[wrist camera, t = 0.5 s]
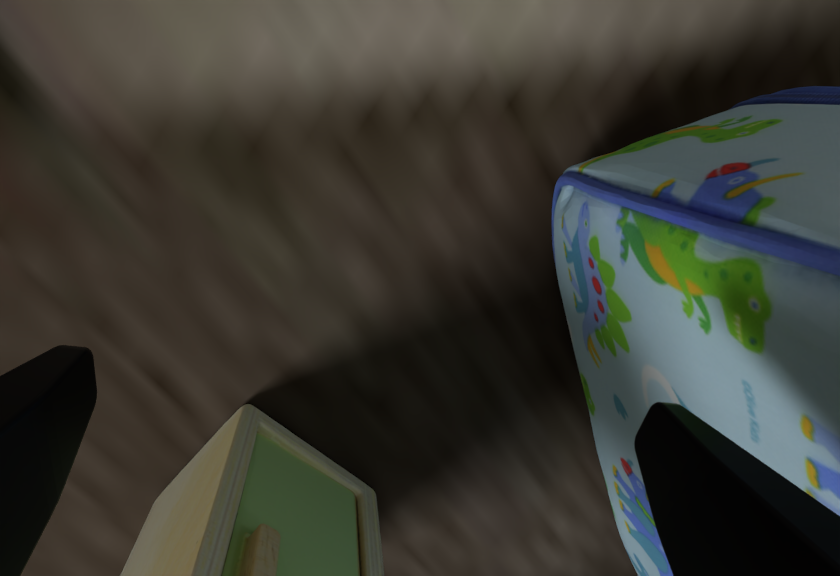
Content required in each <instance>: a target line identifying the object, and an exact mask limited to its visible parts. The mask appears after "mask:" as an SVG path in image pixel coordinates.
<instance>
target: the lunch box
mask: <svg viewBox="0 0 840 576" xmlns="http://www.w3.org/2000/svg"><path fill="white" fill-rule="evenodd" d="M552 246H553V254H554V261H555V266H556V272H557V278H558V283H559V288H560V292H561V297H562V301H563V305H564V310H565V314H566V318H567V323H568V327H569V331H570V336H571V340H572V344H573V349H574V353H575V357H576V361H577V365H578V369H579V373H580V378H581V382H582V386H583V390H584V393H585V397H586V401H587V405H588V409H589V414H590V419H591V424H592V429H593V435H594V439H595V444H596V449H597V453H598V457H599V460H600V464H601V467H602V471H603V475H604V479H605V482H606V486H607V490H608V494H609V498H610V502H611V506H612V510H613V513H614V517H615V521H616V524H617V527H618V531H619V533H620V536H621V539H622V541H623V544H624V546H625V549H626V551H627V553H628V555H629V558H630V560H631V562H632V564H633V566H634V568H635V570H636V572H637V574H638V576H673V573H672V571H671V568H670V565H669V563H668V560H667V558H666V555H665V552H664V550H663V547H662V544H661V541H660V538H659V536H658V533H657V530H656V526H655V523H654V520H653V516H652V512H651V509H650V505H649V501H648V497H647V494H646V490H645V486H644V483H643V479H642V475H641V471H640V468H639V464H638V460H637V456H636V453H635V447H634V441H635V436H636V434H637V432H638V430H639V428H640V426H641V424H642V422H643V420H644V418H645V416H646V414H647V412H648V410H649V408H650V407H651V405H653V404H654V403H656V402H668V403H677V404H680V405H681V406H683V407H684V408H686V409H687V410H689V411H690V412H692V413H693V414H694V415H696V416H697V417H699V418H700V419H702V420H703V421H704V422H706V423H707V424H709V425H710V426H712V427H713V428H714V429H716V430H717V431H719V432H720V433H722V434H723V435H724V436H726V437H727V438H729V439H730V440H732V441H733V442H734V443H736V444H737V445H739V446H740V447H742V448H743V449H744V450H746V451H747V452H749V453H750V454H752V455H753V456H754V457H756V458H757V459H759V460H760V461H762V462H763V463H764V464H766V465H767V466H769V467H770V468H772V469H773V470H774V471H776V472H777V473H779V474H780V475H782V476H783V477H784V478H786V479H787V480H789V481H790V482H792V483H793V484H794V485H796V486H797V487H799V488H800V489H802V490H803V491H804V492H806V493H807V494H809V495H810V496H812V497H813V498H814V499H816V500H817V501H819V502H820V503H822V504H823V505H824V506H826V507H827V508H829V509H830V510H832V511H833V512H834V513H836V514H837V515H839V516H840V87H830V86H810V87H798V88H792V89H787V90H781V91H778V92H775V93H772V94H767V95H761V96H758V97H754V98H751V99H749V100H745V101H742V102H740V103H738V104H736V105H734V106H733V107H732V108H730V109H729V110H727V111H724V112H721V113H718V114H715V115H712V116H709V117H707V118H704V119H701V120H699V121H696V122H694V123H691V124H688V125H685V126H682V127H678V128H675V129H672V130H669V131H666V132H663V133H660V134H657V135H654V136H651V137H649V138H646V139H643V140H641V141H638V142H635V143H633V144H630V145H628V146H626V147H624V148H622V149H620V150H618V151H615V152H612V153H609V154H605V155H602V156H598V157H595V158H592V159H590V160H588V161H585V162H583V163H579V164H576V165H573V166H571V167H569V168H568V169H566V170H565V171H564V173H563V175H561V176H560V177H559V179H558V180H557V182H556V185H555V190H554V194H553V203H552Z"/></svg>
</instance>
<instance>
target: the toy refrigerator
mask: <svg viewBox="0 0 840 576" xmlns="http://www.w3.org/2000/svg"><path fill="white" fill-rule="evenodd" d="M120 576H384V568H383V558H382V548H381V537H380V528H379V518H378V508H377V498H376V494H375V491H374V490H373V489H372V488H371V487H369V486H368V485H366V484H365V483H364V482H362V481H361V480H359V479H358V478H357V477H355V476H354V475H352V474H351V473H349V472H348V471H346V470H345V469H344V468H342V467H341V466H339V465H338V464H336V463H335V462H333V461H332V460H331V459H329V458H328V457H326V456H325V455H323V454H322V453H321V452H319V451H318V450H316V449H315V448H313V447H312V446H310V445H309V444H308V443H306V442H305V441H303V440H302V439H300V438H299V437H297V436H296V435H294V434H293V433H292V432H290V431H289V430H287V429H286V428H285V427H283V426H282V425H280V424H279V423H277V422H276V421H274V420H273V419H272V418H270V417H269V416H267V415H266V414H265V413H263V412H262V411H260V410H259V409H257V408H256V407H254V406H253V405H251V404H245V405H243V406H242V407H241V408H240V409H238V410H237V411H236V413H235V414H234V415H233V416H232V417H231V418H230V419H229V420H228V421H227V422H226V423H225V424H224V425H223V426H222V427H221V428H220V429H219V430H218V431H217V433H216V434H215V435H214V436H213V437H212V438H211V439H210V440H209V441H208V442H207V443H206V445H205V446H204V447H203V448H202V449H201V450H200V451H199V452H198V453H197V454H196V455H195V457H194V458H193V459H192V460H191V461H190V462H189V463H188V464H187V465H186V466H185V467H184V469H183V470H182V471H181V472H180V473H179V474H178V475H177V476H176V477H175V478H174V480H173V481H172V482H171V483H170V484H169V485H168V486H167V487H166V488H165V490H164V491H163V492H162V493H161V494H160V495H159V496H158V498H157V499H156V501H155V502H154V504H153V506H152V508H151V510H150V513H149V515H148V517H147V519H146V521H145V523H144V525H143V528H142V530H141V532H140V534H139V536H138V539H137V541H136V543H135V545H134V547H133V549H132V552H131V554H130V556H129V558H128V560H127V562H126V564H125V567H124V569H123V571H122V573H121V575H120Z"/></svg>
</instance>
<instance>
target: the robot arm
mask: <svg viewBox="0 0 840 576" xmlns="http://www.w3.org/2000/svg"><path fill="white" fill-rule="evenodd" d="M96 398H97V386H96V377H95V368H94V359H93V354H92V352H91V350H90V349H88V348H86V347H77V346H67V345H60V346H57V347H54V348H52V349H50V350H49V351H47V352H45V353H43V354H41V355H39V356H37V357H35V358H33V359H32V360H30V361H28V362H26V363H24V364H22V365H20V366H18V367H16V368H15V369H13V370H11V371H9V372H7V373H5V374H3V375H1V376H0V576H20V575H21V573H22V571H23V569H24V568H25V566H26V564H27V562H28V560H29V558H30V556H31V554H32V552H33V550H34V548H35V546H36V544H37V543H38V541H39V539H40V537H41V535H42V533H43V531H44V529H45V527H46V525H47V523H48V521H49V519H50V517H51V515H52V513H53V511H54V509H55V507H56V505H57V503H58V501H59V499H60V496H61V494H62V491H63V489H64V486H65V484H66V481H67V478H68V476H69V473H70V470H71V468H72V465H73V463H74V460H75V457H76V455H77V452H78V449H79V447H80V444H81V441H82V439H83V436H84V433H85V431H86V428H87V426H88V423H89V420H90V418H91V415H92V412H93V410H94V407H95V403H96ZM634 447H635V453H636V456H637V460H638V464H639V468H640V471H641V475H642V479H643V483H644V486H645V490H646V494H647V497H648V501H649V505H650V509H651V512H652V516H653V520H654V523H655V526H656V530H657V533H658V536H659V538H660V541H661V544H662V547H663V550H664V552H665V555H666V558H667V560H668V563H669V565H670V568H671V571H672V573H673V576H840V516H839V515H837V514H836V513H834V512H833V511H832V510H830V509H829V508H827V507H826V506H824V505H823V504H822V503H820V502H819V501H817V500H816V499H814V498H813V497H812V496H810V495H809V494H807V493H806V492H804V491H803V490H802V489H800V488H799V487H797V486H796V485H794V484H793V483H792V482H790V481H789V480H787V479H786V478H784V477H783V476H782V475H780V474H779V473H777V472H776V471H774V470H773V469H772V468H770V467H769V466H767V465H766V464H764V463H763V462H762V461H760V460H759V459H757V458H756V457H754V456H753V455H752V454H750V453H749V452H747V451H746V450H744V449H743V448H742V447H740V446H739V445H737V444H736V443H734V442H733V441H732V440H730V439H729V438H727V437H726V436H724V435H723V434H722V433H720V432H719V431H717V430H716V429H714V428H713V427H712V426H710V425H709V424H707V423H706V422H704V421H703V420H702V419H700V418H699V417H697V416H696V415H694V414H693V413H692V412H690V411H689V410H687V409H686V408H684V407H683V406H681V405H680V404H677V403H668V402H656V403H654V404H653V405H651V407H650V408H649V410H648V412H647V414H646V416H645V418H644V420H643V422H642V424H641V426H640V428H639V430H638V432H637V434H636V436H635V441H634Z"/></svg>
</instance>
